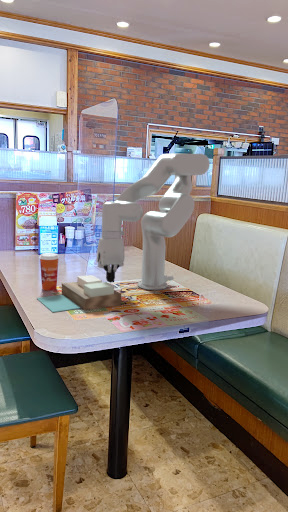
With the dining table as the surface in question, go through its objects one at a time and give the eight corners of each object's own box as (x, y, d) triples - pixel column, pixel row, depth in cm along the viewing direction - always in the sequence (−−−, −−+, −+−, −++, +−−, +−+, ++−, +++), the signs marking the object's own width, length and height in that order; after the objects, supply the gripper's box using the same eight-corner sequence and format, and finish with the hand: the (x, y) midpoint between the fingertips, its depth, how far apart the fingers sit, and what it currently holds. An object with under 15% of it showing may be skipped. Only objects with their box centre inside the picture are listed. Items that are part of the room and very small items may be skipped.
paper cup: (39, 292, 156) (39, 256, 154) (39, 286, 164) (38, 252, 161) (60, 291, 158) (60, 256, 156) (58, 285, 166) (58, 252, 163)
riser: (94, 289, 163) (94, 279, 162) (121, 304, 145) (121, 293, 144) (61, 293, 155) (61, 283, 155) (85, 310, 137) (85, 299, 137)
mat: (62, 295, 153) (62, 294, 153) (80, 308, 139) (80, 307, 139) (36, 298, 148) (36, 297, 148) (52, 312, 134) (52, 311, 134)
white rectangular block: (91, 282, 158) (91, 275, 157) (101, 288, 150) (102, 280, 150) (77, 284, 154) (77, 276, 154) (87, 290, 147) (87, 282, 146)
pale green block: (83, 292, 144) (83, 284, 143) (106, 289, 148) (106, 281, 148) (90, 297, 139) (90, 288, 138) (113, 294, 143) (114, 285, 143)
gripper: (124, 232, 160) (122, 277, 164) (89, 234, 152) (88, 281, 156) (133, 235, 154) (131, 282, 158) (98, 237, 146) (97, 286, 150)
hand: (110, 281), depth 157 cm, fingers closed
